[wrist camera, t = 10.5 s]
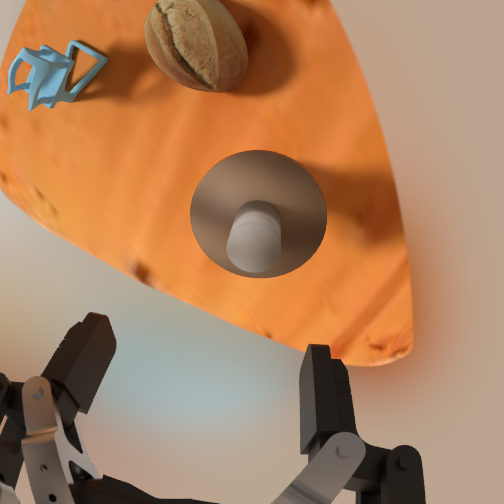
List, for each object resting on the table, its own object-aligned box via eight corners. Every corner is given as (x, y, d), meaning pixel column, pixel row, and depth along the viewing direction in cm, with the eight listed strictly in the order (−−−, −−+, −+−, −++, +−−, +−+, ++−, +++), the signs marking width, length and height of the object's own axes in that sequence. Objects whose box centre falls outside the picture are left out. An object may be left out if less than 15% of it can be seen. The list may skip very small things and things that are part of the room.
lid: (195, 144, 22) (171, 161, 17) (335, 160, 21) (353, 181, 16) (194, 263, 27) (177, 302, 22) (311, 276, 27) (317, 318, 22)
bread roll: (201, 111, 32) (180, 117, 25) (141, 26, 26) (109, 14, 19) (270, 70, 29) (268, 63, 22) (204, -17, 23) (186, -40, 16)
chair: (50, 88, 30) (-8, 100, 20) (75, 39, 26) (16, 36, 16) (82, 109, 32) (23, 125, 22) (109, 58, 28) (50, 56, 18)
